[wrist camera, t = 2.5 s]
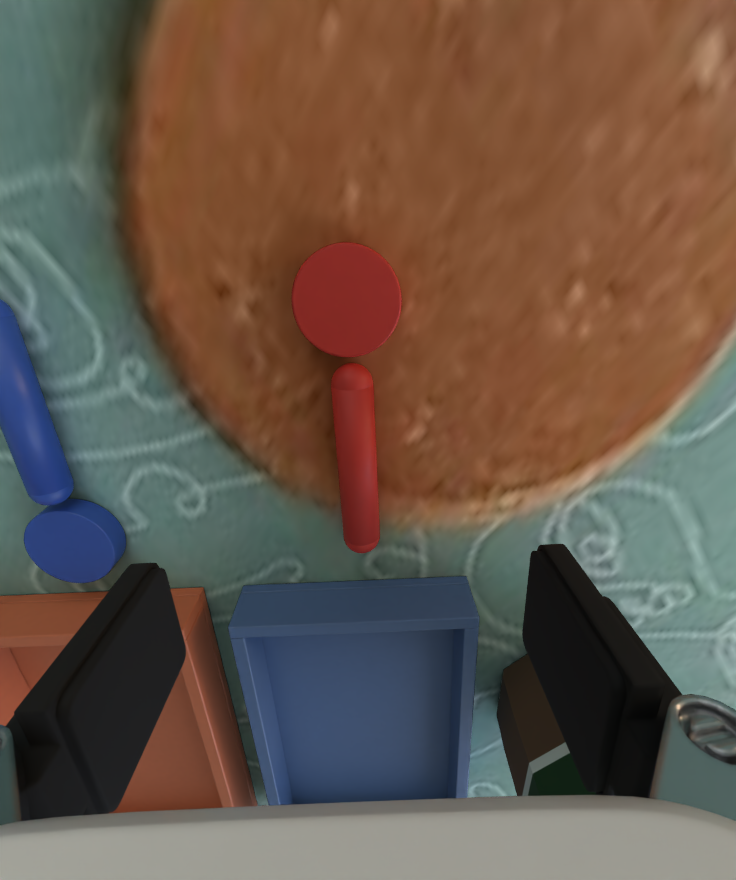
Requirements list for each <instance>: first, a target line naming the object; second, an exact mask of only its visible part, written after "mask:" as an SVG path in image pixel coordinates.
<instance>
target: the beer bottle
mask: <svg viewBox="0 0 736 880" xmlns="http://www.w3.org/2000/svg"><path fill="white" fill-rule="evenodd" d="M497 719H498V723H499V728H500V732H501V737H502V741H503V746H504V750H505V754H506V757H507V761H508V764H509V768H510V771H511V775H512V778H513V782H514V786H515V789H516V793H517V796H551V795H596V794H595V792H589V791H587V789H586V788H585V786H584V784H583V782H582V780H581V777H580V775H579V773H578V770H577V768H576V766H575V763H574V761H573V759H572V756H571V754H570V752H569V749H568V747H567V745H566V742H565V740H564V738H563V735H562V733H561V731H560V728H559V726H558V723H557V721H556V719H555V716H554V714H553V712H552V709H551V707H550V705H549V702H548V700H547V698H546V695H545V693H544V691H543V688H542V686H541V684H540V681H539V679H538V677H537V674H536V672H535V670H534V667H533V665H532V663H531V660H530V658H529V655H528V654H527V655H525V656H524V657H522V658H521V659H519V660H517V661H516V662H514V663H513V664H511V665H510V666H508V667H507V668H505V669H504V671H503V676H502V683H501V689H500V696H499V702H498V709H497Z"/></svg>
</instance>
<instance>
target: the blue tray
mask: <svg viewBox="0 0 736 880" xmlns="http://www.w3.org/2000/svg"><path fill="white" fill-rule="evenodd" d="M478 627H479V615H478V612H477V609H476V605H475V602H474V599H473V596H472V593H471V590H470V586H469V583H468V580H467V577H466V576H456V577H433V578H409V579H386V580H362V581H339V582H315V583H292V584H268V585H245V586H243V588H242V591H241V594H240V596H239V599H238V602H237V605H236V607H235V610H234V613H233V616H232V618H231V621H230V624H229V626H228V631H229V635H230V638H231V644H232V648H233V652H234V657H235V661H236V665H237V670H238V674H239V678H240V683H241V687H242V691H243V696H244V700H245V704H246V709H247V713H248V717H249V722H250V726H251V730H252V735H253V739H254V743H255V748H256V752H257V756H258V761H259V765H260V769H261V774H262V778H263V782H264V787H265V791H266V795H267V800H268V804H269V805H293V804H316V803H341V802H365V801H390V800H418V799H446V798H467V792H468V777H469V763H470V748H471V734H472V719H473V705H474V690H475V676H476V661H477V647H478V632H479V628H478Z"/></svg>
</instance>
